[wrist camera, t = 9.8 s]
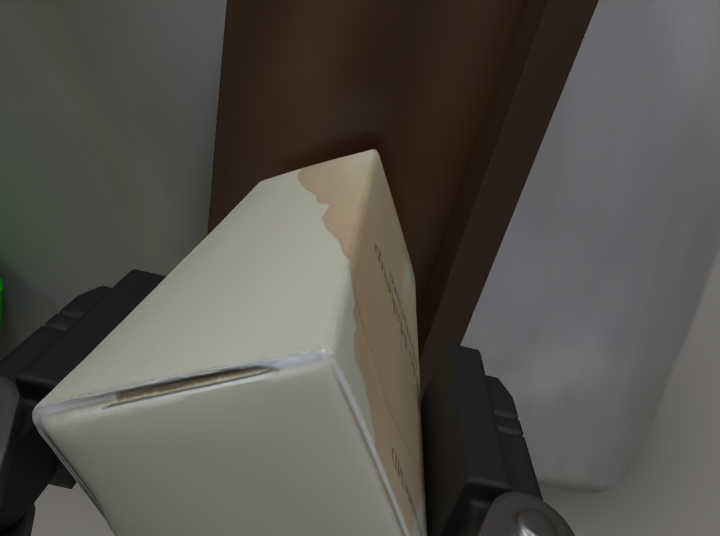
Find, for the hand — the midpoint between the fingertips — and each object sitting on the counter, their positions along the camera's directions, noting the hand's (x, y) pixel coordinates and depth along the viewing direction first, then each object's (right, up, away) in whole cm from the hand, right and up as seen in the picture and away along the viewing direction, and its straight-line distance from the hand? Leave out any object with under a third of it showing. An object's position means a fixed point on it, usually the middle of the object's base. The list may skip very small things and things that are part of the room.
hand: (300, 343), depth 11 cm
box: (+1, +3, +6) cm, 7 cm away
